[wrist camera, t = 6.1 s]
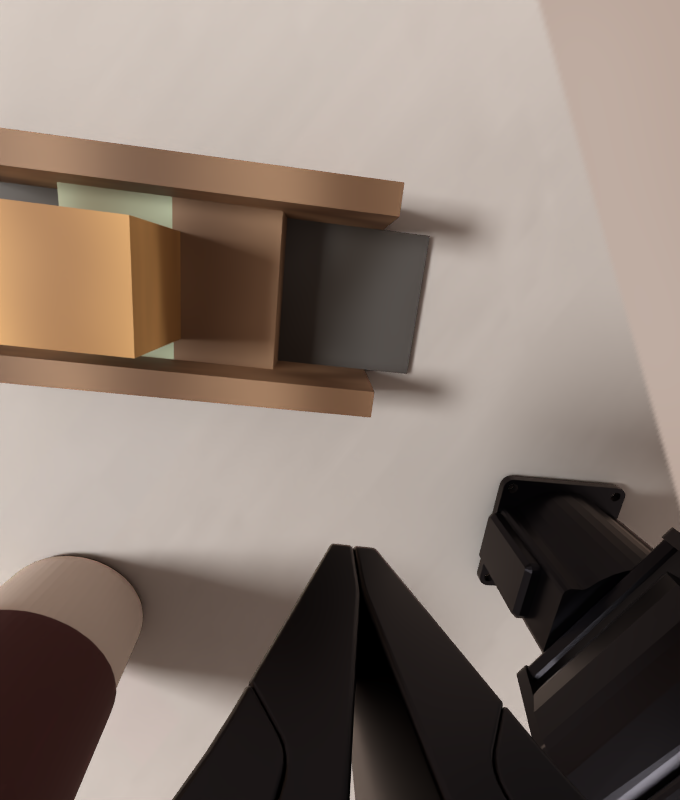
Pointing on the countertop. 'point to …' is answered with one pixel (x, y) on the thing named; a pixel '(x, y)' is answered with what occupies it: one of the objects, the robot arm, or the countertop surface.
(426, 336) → the countertop surface
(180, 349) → the trough
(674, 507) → the countertop surface
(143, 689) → the countertop surface
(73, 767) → the coffee cup
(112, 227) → the block
